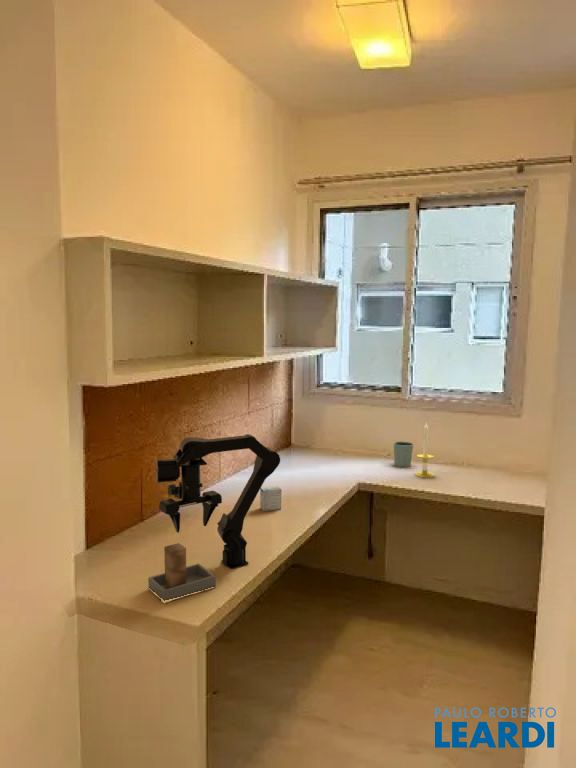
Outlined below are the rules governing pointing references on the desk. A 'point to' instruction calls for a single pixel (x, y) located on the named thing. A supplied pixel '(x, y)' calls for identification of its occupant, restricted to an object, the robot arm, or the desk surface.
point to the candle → (425, 456)
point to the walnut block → (175, 565)
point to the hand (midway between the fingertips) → (191, 529)
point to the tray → (195, 582)
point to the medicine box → (270, 498)
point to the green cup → (403, 454)
